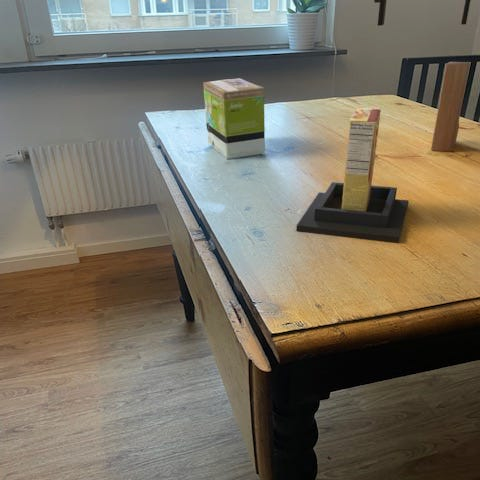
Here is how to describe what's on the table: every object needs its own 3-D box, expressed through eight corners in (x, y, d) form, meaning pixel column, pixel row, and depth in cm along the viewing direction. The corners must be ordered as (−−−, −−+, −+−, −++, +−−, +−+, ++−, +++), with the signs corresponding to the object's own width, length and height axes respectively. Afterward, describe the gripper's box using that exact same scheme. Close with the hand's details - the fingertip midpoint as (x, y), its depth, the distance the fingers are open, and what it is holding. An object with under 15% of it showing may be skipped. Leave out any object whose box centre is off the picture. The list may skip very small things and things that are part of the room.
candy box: (346, 198, 90) (354, 107, 81) (370, 200, 88) (381, 108, 80) (339, 217, 83) (348, 119, 74) (366, 219, 81) (377, 120, 73)
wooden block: (436, 140, 123) (451, 58, 113) (455, 142, 121) (472, 59, 111) (430, 150, 116) (445, 64, 106) (450, 152, 114) (468, 64, 104)
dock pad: (407, 205, 89) (410, 188, 87) (398, 243, 76) (401, 224, 75) (319, 196, 94) (319, 181, 92) (296, 231, 81) (296, 213, 79)
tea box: (206, 144, 127) (201, 80, 119) (243, 139, 130) (241, 77, 122) (226, 160, 115) (222, 90, 107) (266, 154, 118) (266, 86, 110)
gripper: (536, -147, 73) (499, 21, 85) (364, -129, 81) (352, 23, 93) (542, -157, 68) (501, 25, 79) (356, -137, 75) (344, 27, 87)
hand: (421, 24), depth 86 cm, fingers open, 13 cm apart
